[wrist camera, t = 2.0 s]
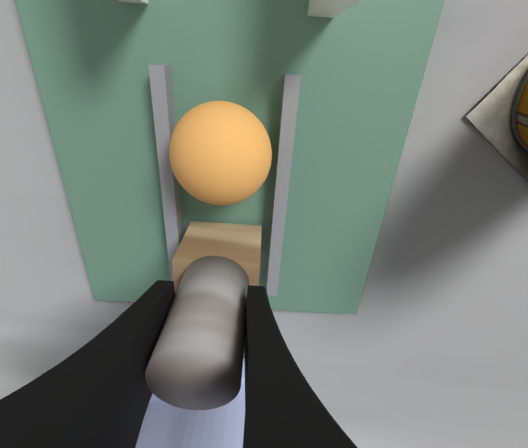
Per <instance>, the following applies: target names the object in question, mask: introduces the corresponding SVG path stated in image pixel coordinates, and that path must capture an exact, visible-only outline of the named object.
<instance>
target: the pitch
mask: <svg viewBox="0 0 528 448" xmlns="http://www.w3.org/2000/svg"><path fill="white" fill-rule="evenodd" d="M15 1H16V5H17V9H18V13H19V17H20V20H21V24H22V28H23V32H24V35H25V39H26V43H27V47H28V51H29V54H30V58H31V62H32V66H33V70H34V73H35V77H36V81H37V85H38V88H39V92H40V96H41V100H42V104H43V107H44V111H45V115H46V119H47V123H48V126H49V130H50V134H51V138H52V141H53V145H54V149H55V153H56V157H57V160H58V164H59V168H60V172H61V176H62V179H63V183H64V187H65V191H66V194H67V198H68V202H69V206H70V210H71V213H72V217H73V221H74V225H75V229H76V232H77V236H78V240H79V244H80V248H81V251H82V255H83V259H84V263H85V266H86V270H87V274H88V278H89V282H90V285H91V289H92V293H93V297H94V300H103V301H121V302H135V301H136V300H137V299H138V298H140V297H141V296H142V295H143V294H144V293H145V292H146V291H147V290H148V289H149V288H150V287H151V286H152V285H153V284H154V283H155V282H156V281H157V280H165V281H174V280H173V270H172V259H173V257H174V255H175V253H176V251H177V249H178V247H179V245H180V243H181V241H182V239H183V237H184V234H185V232H186V230H187V228H188V226H189V224H190V222H191V221H197V222H213V223H229V224H246V225H262V229H261V255H260V275H259V286H264V287H265V288H266V289H267V295H268V299H269V303H270V306H271V309H272V310H283V311H301V312H319V313H337V314H357V310H358V307H359V303H360V299H361V296H362V292H363V289H364V285H365V282H366V278H367V274H368V271H369V267H370V264H371V260H372V257H373V253H374V249H375V246H376V242H377V239H378V235H379V232H380V228H381V225H382V221H383V217H384V214H385V210H386V207H387V203H388V200H389V196H390V192H391V189H392V185H393V182H394V178H395V175H396V171H397V167H398V164H399V160H400V157H401V153H402V150H403V146H404V142H405V139H406V135H407V132H408V128H409V125H410V121H411V118H412V114H413V110H414V107H415V103H416V100H417V96H418V93H419V89H420V85H421V82H422V78H423V75H424V71H425V68H426V64H427V60H428V57H429V53H430V50H431V46H432V43H433V39H434V36H435V32H436V28H437V25H438V21H439V18H440V14H441V11H442V7H443V3H444V0H360V1H359V2H357V3H356V4H354V5H353V6H351V7H349V8H348V9H346V10H345V11H343V12H342V13H340V14H339V15H337V16H336V17H334V18H329V17H315V16H307V15H308V6H309V0H148V4H142V3H129V2H121V1H118V0H15ZM211 101H228V102H232V103H236V104H238V105H240V106H243V107H244V108H246V109H248V110H249V111H250V112H252V113H253V114H254V115H255V116H256V117H257V118H258V119H259V120H260V122H261V123H262V124H263V126H264V128H265V129H266V131H267V134H268V136H269V139H270V143H271V149H272V160H271V167H270V170H269V173H268V176H267V178H266V180H265V181H264V183H263V184H262V186H261V187H260V188H259V189H258V190H257V191H256V192H255V193H254V194H253V195H252V196H250V197H249V198H247V199H245V200H243V201H241V202H238V203H235V204H231V205H214V204H209V203H206V202H203V201H201V200H199V199H197V198H195V197H194V196H192V195H191V194H189V193H188V192H187V191H186V190H185V189H184V188H183V187H182V186H181V185H180V183H179V182H178V180H177V179H176V177H175V175H174V173H173V170H172V167H171V164H170V158H169V145H170V139H171V136H172V133H173V130H174V128H175V126H176V125H177V123H178V121H179V120H180V119H181V118H182V117H183V116H184V115H185V114H186V113H187V112H188V111H189V110H191V109H192V108H194V107H196V106H198V105H200V104H203V103H206V102H211Z"/></svg>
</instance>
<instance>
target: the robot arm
mask: <svg viewBox="0 0 528 448" xmlns="http://www.w3.org/2000/svg"><path fill="white" fill-rule="evenodd" d="M174 297H175V289H174V281H165V280H157V281H156V282H155V283H154V284H153V285H152V286H151V287H150V288H149V289H148V290H147V291H146V292H145V293H144V294H143V295H142V296H141V297H140V298H138V299H137V300H136V301H135V302H134V303H133V304H132V305H131V306H130V307H129V308H128V309H127V310H126V311H125V312H124V313H122V314H121V315H120V316H119V317H118V318H117V319H116V320H115V321H114V322H112V323H111V324H110V325H109V326H108V327H107V328H105V329H104V330H103V331H102V332H101V333H99V334H98V335H97V336H96V337H95V338H93V339H92V340H91V341H90V342H88V343H87V344H86V345H84V346H83V347H82V348H80V349H79V350H78V351H76V352H75V353H74V354H72V355H71V356H70V357H68V358H67V359H65V360H64V361H62V362H61V363H60V364H58V365H56V366H55V367H53V368H52V369H50V370H49V371H47V372H46V373H44V374H42V375H41V376H39V377H38V378H36V379H35V380H33V381H32V382H30V383H28V384H27V385H25V386H23V387H22V388H20V389H18V390H17V391H15V392H13V393H11V394H10V395H8V396H6V397H4V398H3V399H1V400H0V448H357V447H356V445H355V444H354V443H353V442H352V441H351V440H350V438H349V437H348V436H347V435H346V434H345V432H344V431H343V430H342V429H341V428H340V426H339V425H338V424H337V422H336V421H335V420H334V419H333V417H332V416H331V415H330V414H329V412H328V411H327V409H326V408H325V407H324V405H323V404H322V402H321V401H320V400H319V398H318V397H317V395H316V394H315V393H314V391H313V390H312V388H311V387H310V385H309V384H308V382H307V381H306V379H305V377H304V376H303V374H302V373H301V371H300V369H299V368H298V366H297V364H296V362H295V361H294V359H293V357H292V355H291V353H290V351H289V349H288V347H287V345H286V343H285V341H284V339H283V337H282V335H281V333H280V330H279V328H278V325H277V323H276V320H275V318H274V315H273V312H272V309H271V306H270V303H269V299H268V295H267V289H266V288H265V287H264V286H253V285H248V290H247V302H246V331H245V344H244V358H243V368H242V380H241V389H240V391H239V393H238V395H237V396H236V397H235V398H234V399H233V400H232V401H231V402H229V403H228V404H226V405H224V406H221V407H219V408H215V409H210V410H188V409H182V408H178V407H175V406H172V405H170V404H168V403H166V402H164V401H162V400H161V399H159V398H158V397H156V396H155V395H154V394H153V393H152V392H151V391H150V389H149V388H148V386H147V384H146V381H145V371H146V369H147V366H148V363H149V361H150V358H151V356H152V353H153V351H154V348H155V346H156V343H157V341H158V338H159V335H160V333H161V330H162V328H163V325H164V323H165V320H166V318H167V315H168V313H169V310H170V308H171V305H172V303H173V300H174ZM148 404H149V405H148ZM147 407H148V408H147Z"/></svg>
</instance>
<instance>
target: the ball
mask: <svg viewBox="0 0 528 448" xmlns="http://www.w3.org/2000/svg"><path fill="white" fill-rule="evenodd" d="M169 158H170V164H171V167H172V170H173V173H174V175H175V177H176V179H177V180H178V182H179V183H180V185H181V186H182V187H183V188H184V189H185V190H186V191H187V192H188V193H189V194H191V195H192V196H194V197H195V198H197V199H199V200H201V201H203V202H206V203H209V204H214V205H231V204H235V203H238V202H241V201H243V200H245V199H247V198H249V197H250V196H252V195H253V194H254V193H255V192H256V191H257V190H258V189H259V188H260V187H261V186H262V184H263V183H264V181H265V180H266V178H267V176H268V173H269V170H270V167H271V160H272V149H271V143H270V139H269V136H268V134H267V131H266V129H265V128H264V126H263V124H262V123H261V122H260V120H259V119H258V118H257V117H256V116H255V115H254V114H253V113H252V112H250V111H249V110H248V109H246V108H244V107H243V106H240V105H238V104H236V103H232V102H228V101H211V102H206V103H203V104H200V105H198V106H196V107H194V108H192V109H191V110H189V111H188V112H187V113H186V114H185V115H184V116H183V117H182V118H181V119H180V120H179V121H178V123H177V125H176V126H175V128H174V130H173V133H172V136H171V139H170V145H169Z"/></svg>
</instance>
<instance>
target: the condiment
mask: <svg viewBox="0 0 528 448" xmlns="http://www.w3.org/2000/svg"><path fill="white" fill-rule="evenodd" d="M466 117H467V118H468V119H469V120H470V121H471V122H472V123H473V125H474V126H475V127H476V128H477V129H478V130H479V131H480V132H481V133H482V134H483V135H484V136H485V138H486V139H487V140H488V141H489V142H490V143H491V144H493V145H494V147H495V148H496V149H497V150H498V151H499V152H500V153H501V154H502V156H503V157H505V158H506V159H507V160H508V162H509V163H510V164H511V165H512V166H514V167H515V168H516V169H517V171H518V172H519V173H520V174H522V175H523V176H524V177H525V178H526V179H527V180H528V55H527V56H526V57H525V58H524V59H523V60H522V61H521V62H520V63H519V64H518V65H517V66H516V67H515V68H514V69H513V70H512V71H511V72H510V73H509V74H508V75H507V76H506V77H505V78H504V79H503V80H502V81H501V82H500V83H499V84H498V85H497V87H496V88H495V89H494V90H493V91H492V92H491V93H490V94H488V95H487V96H486V97H485V98H484V99H483V100H482V101H481V102H480V103H479V104H478V105H477V106H476V107H475V108H474V109H473V110H472V111H471V112H470V113H469V114H468V115H467V116H466Z"/></svg>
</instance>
